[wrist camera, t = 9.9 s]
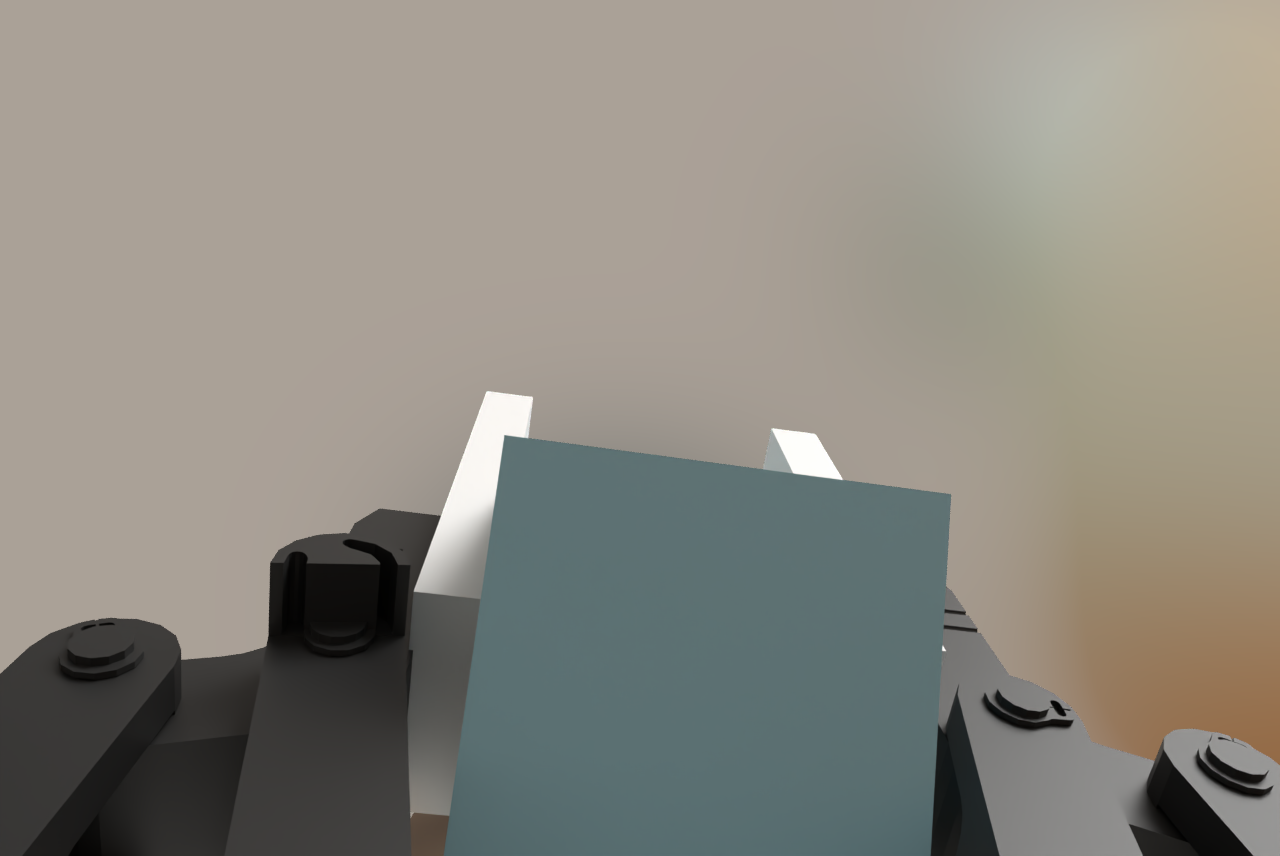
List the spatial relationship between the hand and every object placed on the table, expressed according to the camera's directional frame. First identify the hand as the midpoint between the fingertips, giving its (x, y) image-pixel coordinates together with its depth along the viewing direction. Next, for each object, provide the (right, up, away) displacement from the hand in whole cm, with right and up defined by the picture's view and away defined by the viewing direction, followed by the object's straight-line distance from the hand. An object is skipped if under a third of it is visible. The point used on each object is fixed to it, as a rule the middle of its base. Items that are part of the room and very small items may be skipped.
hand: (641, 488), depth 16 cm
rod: (-1, -5, +3) cm, 6 cm away
